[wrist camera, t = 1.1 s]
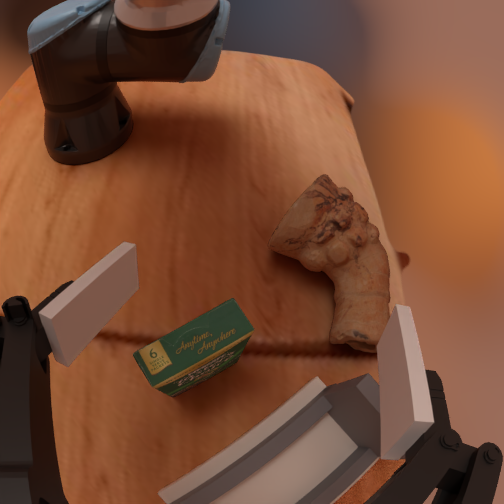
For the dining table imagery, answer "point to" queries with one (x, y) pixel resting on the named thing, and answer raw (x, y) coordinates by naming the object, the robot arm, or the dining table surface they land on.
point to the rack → (294, 451)
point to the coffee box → (196, 349)
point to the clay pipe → (340, 259)
